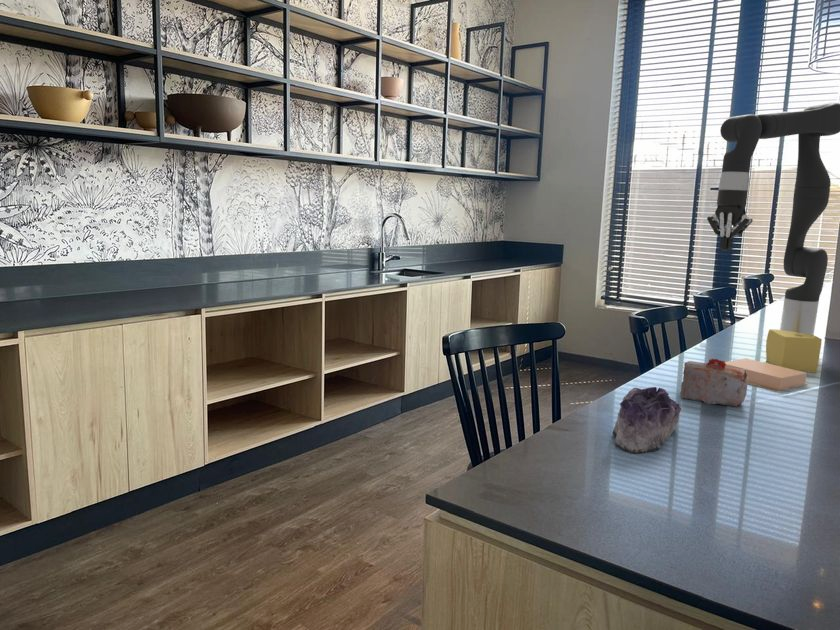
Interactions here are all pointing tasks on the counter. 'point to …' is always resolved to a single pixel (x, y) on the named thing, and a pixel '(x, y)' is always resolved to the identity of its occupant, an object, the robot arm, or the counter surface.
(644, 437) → the geode
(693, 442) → the counter surface
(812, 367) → the cheese
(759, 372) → the tile
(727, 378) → the food item
